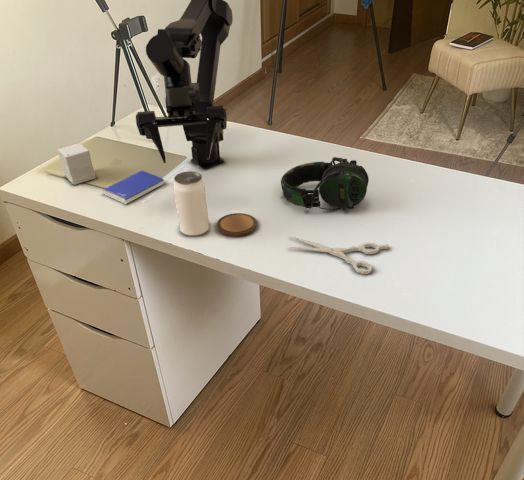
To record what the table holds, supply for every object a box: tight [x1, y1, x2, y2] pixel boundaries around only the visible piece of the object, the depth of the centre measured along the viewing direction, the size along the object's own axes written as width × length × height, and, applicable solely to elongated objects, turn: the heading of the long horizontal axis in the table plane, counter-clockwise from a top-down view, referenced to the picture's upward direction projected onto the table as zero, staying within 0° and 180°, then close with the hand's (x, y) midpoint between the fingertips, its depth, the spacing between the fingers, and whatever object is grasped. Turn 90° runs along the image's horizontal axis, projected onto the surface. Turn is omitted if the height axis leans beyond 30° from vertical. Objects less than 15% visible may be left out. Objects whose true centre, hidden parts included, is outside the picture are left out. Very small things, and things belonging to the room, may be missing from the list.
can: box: [173, 170, 210, 237], centre depth 112 cm, size 6×6×12 cm
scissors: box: [291, 236, 390, 275], centre depth 108 cm, size 11×1×20 cm
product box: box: [57, 142, 97, 186], centre depth 133 cm, size 6×6×7 cm
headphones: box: [280, 156, 370, 211], centre depth 121 cm, size 13×13×20 cm
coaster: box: [216, 212, 258, 238], centre depth 117 cm, size 9×9×1 cm
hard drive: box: [102, 170, 165, 205], centre depth 130 cm, size 2×8×12 cm
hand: (186, 160), depth 112 cm, fingers open, 9 cm apart
